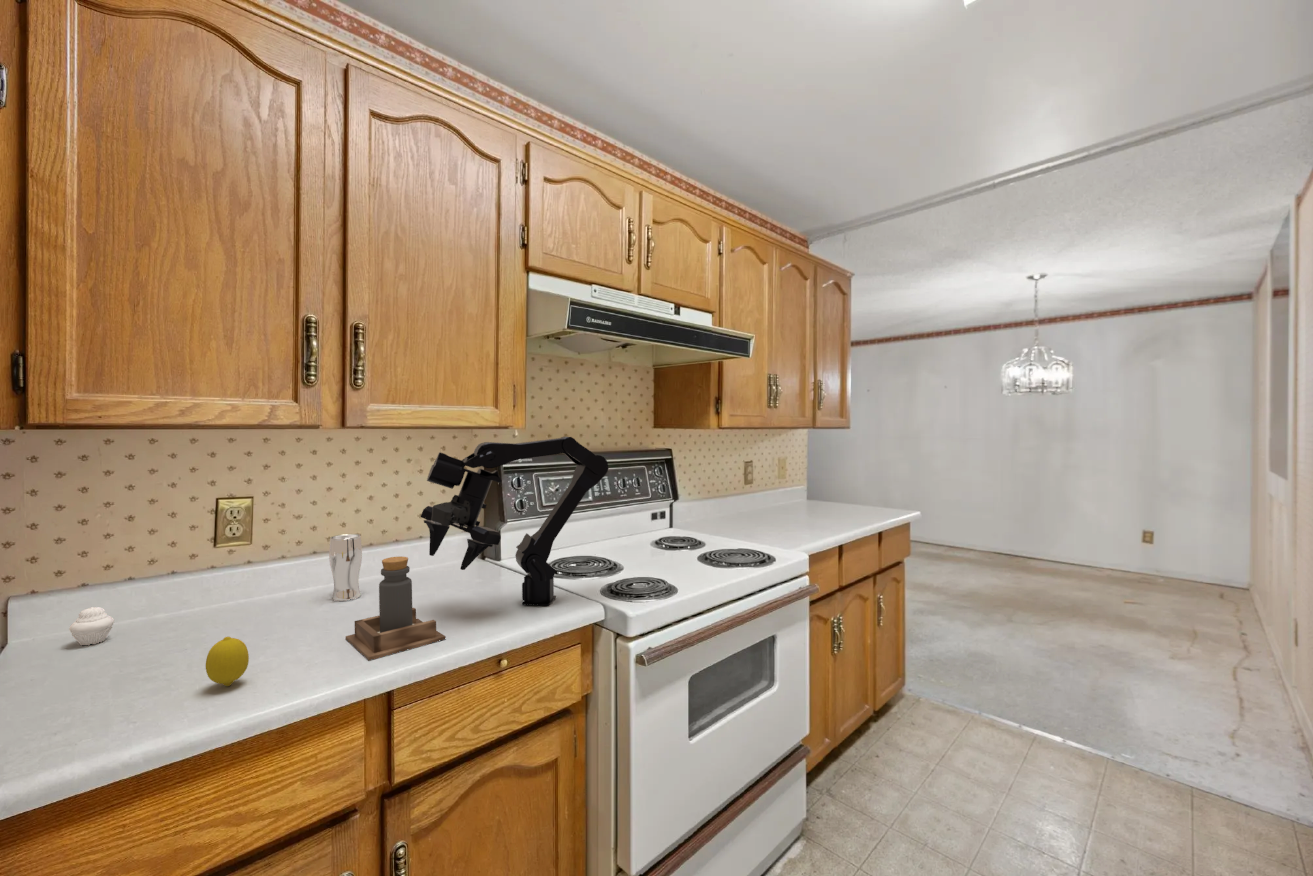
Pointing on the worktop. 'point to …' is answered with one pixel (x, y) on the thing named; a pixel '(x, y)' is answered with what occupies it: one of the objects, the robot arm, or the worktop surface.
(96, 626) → the muffin
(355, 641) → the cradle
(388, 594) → the bottle
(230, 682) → the lemon
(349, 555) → the beer glass
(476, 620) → the worktop surface
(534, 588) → the robot arm
